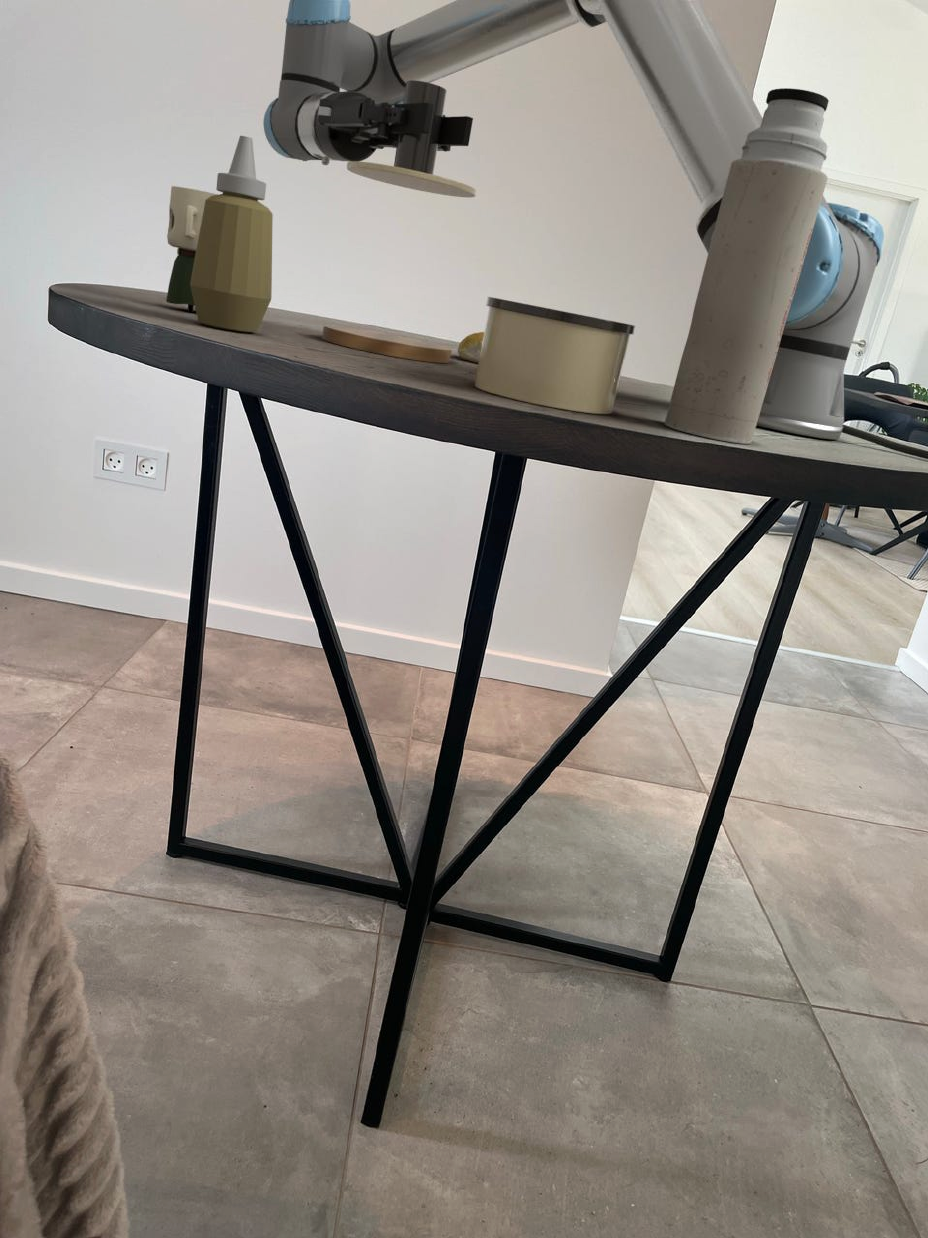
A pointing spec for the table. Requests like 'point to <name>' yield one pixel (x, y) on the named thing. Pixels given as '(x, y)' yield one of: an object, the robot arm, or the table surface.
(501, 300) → the pot
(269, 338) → the table surface
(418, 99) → the lid
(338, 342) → the trivet
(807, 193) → the thermos bottle
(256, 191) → the squeeze bottle
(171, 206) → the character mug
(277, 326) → the table surface
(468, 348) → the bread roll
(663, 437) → the table surface
